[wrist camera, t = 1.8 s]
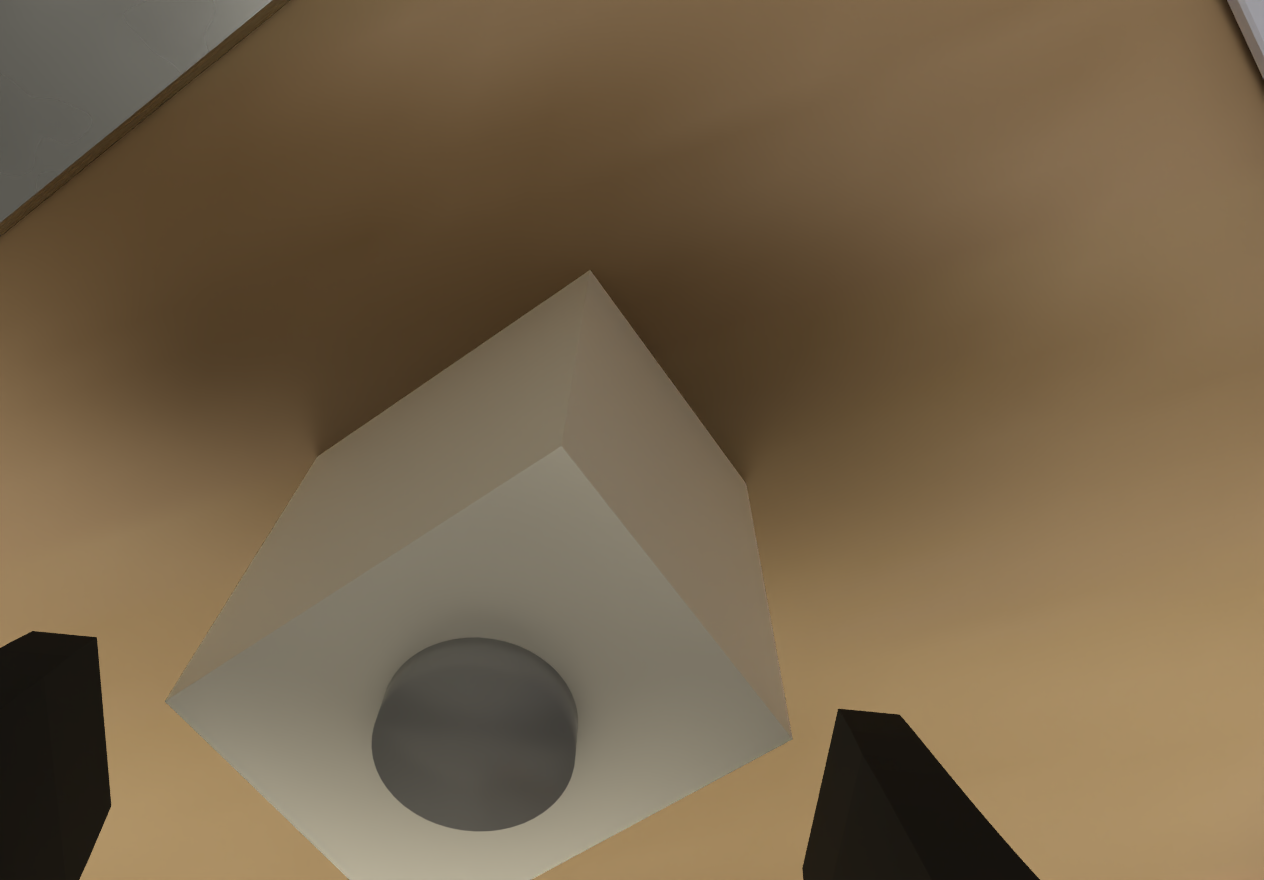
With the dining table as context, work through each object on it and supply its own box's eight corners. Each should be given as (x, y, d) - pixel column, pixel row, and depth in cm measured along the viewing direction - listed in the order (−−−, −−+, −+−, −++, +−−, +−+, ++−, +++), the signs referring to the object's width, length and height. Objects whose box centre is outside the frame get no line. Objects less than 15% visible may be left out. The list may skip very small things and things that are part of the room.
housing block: (746, 482, 17) (798, 771, 11) (482, 642, 19) (405, 979, 13) (590, 269, 16) (557, 468, 10) (317, 456, 17) (145, 732, 11)
